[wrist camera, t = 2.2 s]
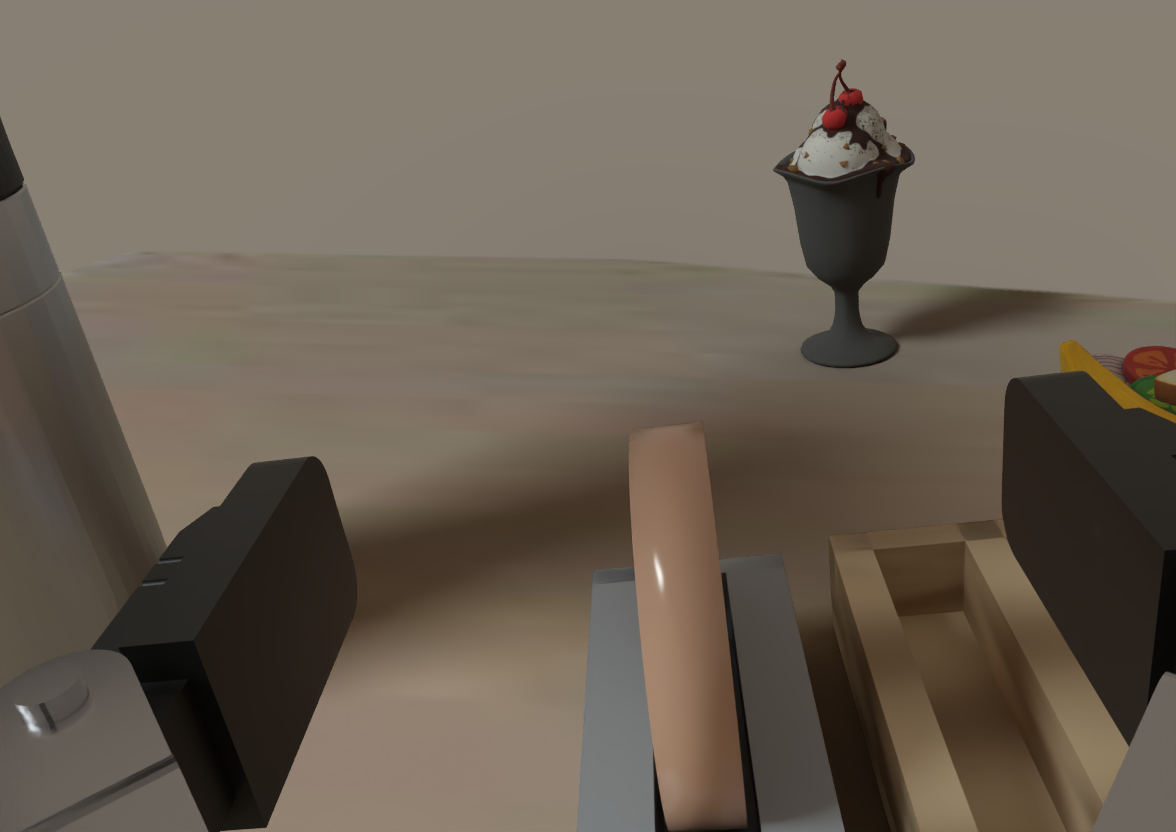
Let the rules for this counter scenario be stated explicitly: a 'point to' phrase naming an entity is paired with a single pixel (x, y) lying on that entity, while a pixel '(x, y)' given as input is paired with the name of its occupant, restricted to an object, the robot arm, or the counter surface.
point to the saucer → (684, 630)
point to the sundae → (846, 217)
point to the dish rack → (967, 685)
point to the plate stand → (762, 696)
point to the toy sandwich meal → (1130, 376)
